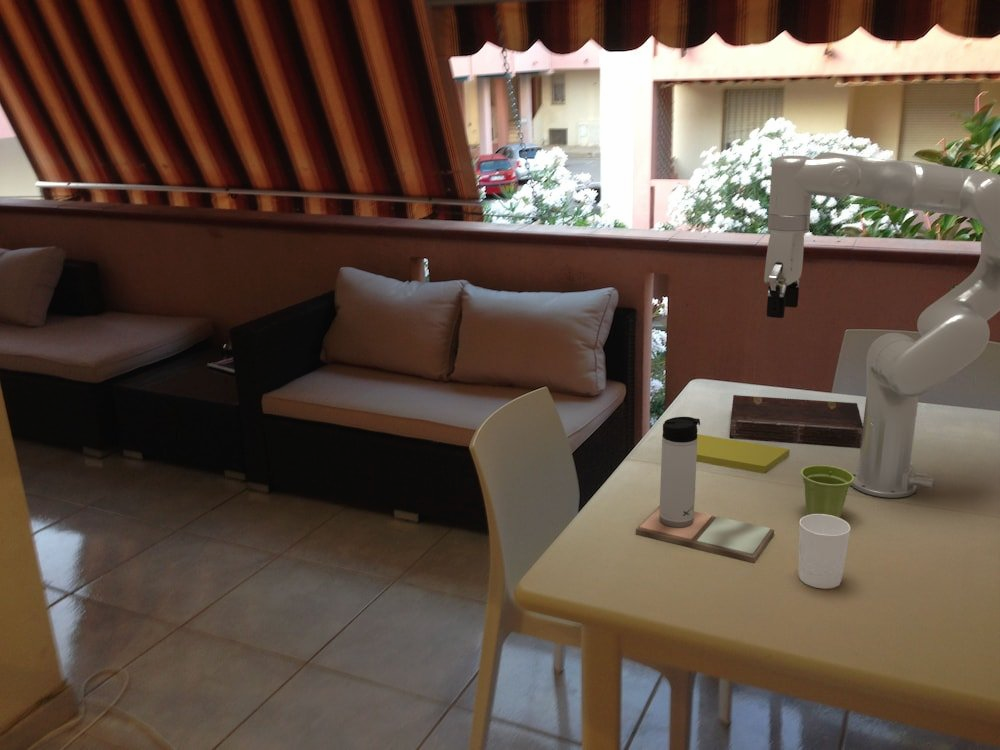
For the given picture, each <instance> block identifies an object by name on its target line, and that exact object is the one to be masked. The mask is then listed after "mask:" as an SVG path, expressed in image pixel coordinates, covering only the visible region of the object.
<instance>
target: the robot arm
mask: <svg viewBox="0 0 1000 750" xmlns="http://www.w3.org/2000/svg"><path fill="white" fill-rule="evenodd" d="M772 161H773V162H772V163H771V173H770V174H771V176H770V188H769V204H768V219H767V232H770V234H769V238H768V243H767V250H766V251H767V252H766V258H765V259H766V260H765V266H764V267H765V268H764V274H763V275H764V277H763V281H764V283H765V284H766V285H768V287H767V288H768V291H767V301H766V303H767V304H766V316H767V317H768V318H777V319H782V318H783V319H784V317H785V311H786V310H785V309H786V308H797V307H798V304H799V295H800V294H799V293H800V292H799V290H800V278H801V276H802V273H803V272H802V271H803V265H804V264H803V263H804V246H805V245H804V244H805V242H804V241H805V233H809V232H810V226H811V225H810V223H811V213H812V211H811V209H812V201H813V200H812V197H813V196H821V197H827V198H828V197H829V198H842V197H845V196H854V197H857V198H858V197H859V198H865V199H870V200H873V201H877V202H880V203H884V204H887V205H890V206H893V207H897V208H903V209H906V210H913V211H921V212H928V213H935V214H944V215H950V216H958V217H965V218H970V219H973V220H976V221H978V222H979V224H981V227H982V228H983V230H984V231H983V233H982V237H981V240H980V256H979V260H978V263H977V265H976V267H975V268H974V270H973V271H972V272H971V274H970V275H968V277H966V278H965V279H964V280H963V281H961V282H960V283H959V284H957V286H956V285H955V286H954V288H951V290H949V291H948V292H947V293H946V294H944V295H943V296H941V297H940V298H939V299H937V300H936V301H934V302H933V303H932V304H930V305H928V306H927V307H926V308H925V309H924V310H923V311H922V312H921V313H920V315H918V316H919V317H918V319H917V321H916V324H917V326H916V327H917V331H918V334H919V335H920V336H921V337H919V338H918V339H917V340H914V339H913V338H912V337H910V336H909V335H907V334H903V333H899V332H887V333H885V334H883V335H881V336H879V337H877V338H876V339H875V340H874V341H873V342H872V344H871V345H870V346H869V348H868V351H867V353H866V361H865V365H866V366H865V367H866V369H865V371H866V373H865V374H866V390H865V391H866V392H865V394H866V395H865V403H864V405H865V406H864V413H863V422H862V425H863V431H862V441H861V448H860V452H859V460H858V461H859V462H858V469H857V470H855V471H853V472H851V474H852V475H853V476H854V481H853V482H852V483H851V485H850V486H852V487H853V488H854V489H855V490H857V491H859V492H861V493H864V494H867V495H870V496H873V497H878V498H886V499H887V498H889V499H895V498H896V499H897V498H905V497H909V496H912V495H913V494H914V493H915V492H916V490H917V486H918V487H921V488H926V489H933V484H934V479H933V478H930V477H929V474H926V473H918V472H916V470H914V465H913V464H912V463H911V460H912V453H913V445H914V436H915V435H914V434H915V429H916V427H915V426H916V421H917V420H916V419H917V415H918V414H917V413H918V406H919V396H923V395H925V394H927V393H929V392H931V391H933V390H934V389H936V388H937V387H939V386H940V385H941V384H943V383H944V382H945V381H947V380H949V379H950V378H951V377H953V376H955V374H958V372H960V371H961V370H963V369H964V368H965V367H966V366H968V365H970V363H972V362H974V361H975V360H976V359H977V358H978V357H980V356H981V354H982V353H983V352H984V350H985V349H986V347H987V345H988V343H989V341H990V336H991V335H990V334H991V333H990V331H991V330H990V326H989V323H988V321H989V320H990V319H991V318H993V317H994V316H995V315H996V314H997V313H999V312H1000V174H999V173H998V174H997V173H992V172H988V171H984V170H978V169H969V168H964V167H963V168H962V167H956V166H954V167H953V166H947V165H939V164H931V163H925V162H918V161H909V160H896V159H894V160H892V159H884V158H883V159H882V158H881V159H880V158H875V157H868V156H867V157H866V156H861V155H860V156H859V155H852V154H844V153H838V152H830V151H829V152H822V153H819V154H817V155H816V156H814V158H811V157H810V156H805V155H781V156H778V157H776V158H774V160H772Z"/></svg>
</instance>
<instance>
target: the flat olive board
mask: <svg viewBox="0 0 1000 750" xmlns="http://www.w3.org/2000/svg"><path fill="white" fill-rule="evenodd" d="M697 437H698V438H697V459H696V463H702V464H707V465H715V466H719V467H724V468H730V469H736V470H743V471H748V472H752V473H753V472H754V473H759V474H766V473H767V472H769V471H771V470H772V469H774V468H775V467H776V466H777V465H779V464H780V463H781V462H783V461H785V460H786V459H787V458H788V457H790V453H791V452H790V450H791V449H790V448H787V447H779V446H773V445H767V444H760V443H754V442H749V441H741V440H738V439H731V438H729V439H728V438H723V437H716V436H711V435H707V434H705V435H704V434H698V433H697Z"/></svg>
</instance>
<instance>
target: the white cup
mask: <svg viewBox="0 0 1000 750" xmlns="http://www.w3.org/2000/svg"><path fill="white" fill-rule="evenodd" d="M798 523H799V525H798V527H799V528H798V578H799V580H800V581H802V582H803V583H804V584H805V585H806V586H810V587H812V588H817V589H824V590H827V589H834V588H837V587H839V586H840V585H841V583H842V580H843V574H844V573H843V572H844V569H845V567H846V566H845V564H846V559H847V554H848V547H849V543H850V542H849V539H850V533H851V525H850V524H849V522H847V520H845V519H843V518H841V517H840V518H838V517H835V516H832V515H826V514H811V515H807V514H806V515H804V516H802V517H801V518H800V520H799V522H798Z"/></svg>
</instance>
